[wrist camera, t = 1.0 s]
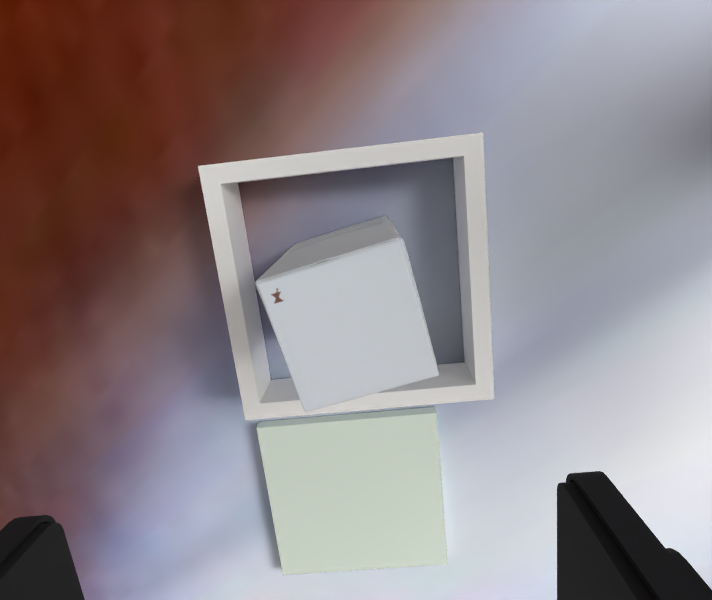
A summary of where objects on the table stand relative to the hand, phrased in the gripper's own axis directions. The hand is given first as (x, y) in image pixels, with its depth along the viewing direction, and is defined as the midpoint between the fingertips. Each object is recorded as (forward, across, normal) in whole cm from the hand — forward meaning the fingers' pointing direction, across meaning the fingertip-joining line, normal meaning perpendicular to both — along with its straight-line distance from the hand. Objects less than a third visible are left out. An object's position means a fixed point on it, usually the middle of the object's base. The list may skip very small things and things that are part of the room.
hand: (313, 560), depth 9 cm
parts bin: (+27, 0, 0) cm, 27 cm away
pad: (+27, +2, +18) cm, 32 cm away
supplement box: (+27, 0, 0) cm, 27 cm away
